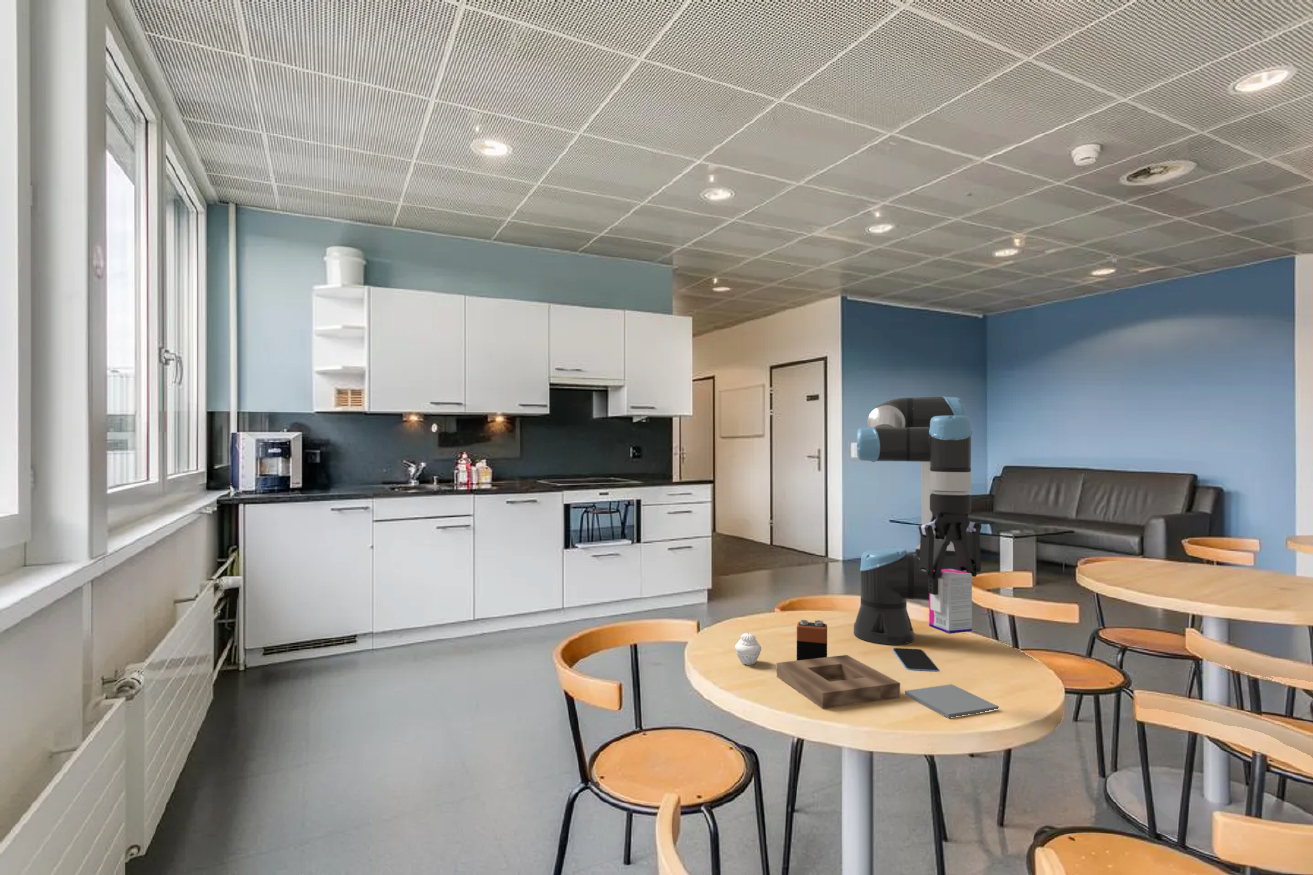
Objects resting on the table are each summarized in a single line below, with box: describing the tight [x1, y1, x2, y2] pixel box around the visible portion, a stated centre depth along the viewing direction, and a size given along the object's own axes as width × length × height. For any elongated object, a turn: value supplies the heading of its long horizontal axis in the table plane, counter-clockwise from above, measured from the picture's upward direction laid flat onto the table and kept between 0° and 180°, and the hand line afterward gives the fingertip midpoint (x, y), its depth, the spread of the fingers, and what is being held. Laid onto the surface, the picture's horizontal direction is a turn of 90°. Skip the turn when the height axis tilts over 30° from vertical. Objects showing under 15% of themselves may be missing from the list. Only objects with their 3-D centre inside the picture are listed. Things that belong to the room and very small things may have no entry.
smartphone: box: [892, 647, 940, 672], centre depth 152 cm, size 7×1×15 cm
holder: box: [776, 654, 901, 710], centre depth 135 cm, size 18×18×3 cm
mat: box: [904, 683, 999, 719], centre depth 127 cm, size 12×12×1 cm
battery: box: [796, 619, 828, 661], centre depth 149 cm, size 4×7×10 cm, turn 74°
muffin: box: [734, 632, 762, 666], centre depth 150 cm, size 6×6×7 cm
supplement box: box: [928, 569, 973, 635], centre depth 127 cm, size 6×6×12 cm
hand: (950, 609), depth 127 cm, fingers closed on supplement box, 6 cm apart
